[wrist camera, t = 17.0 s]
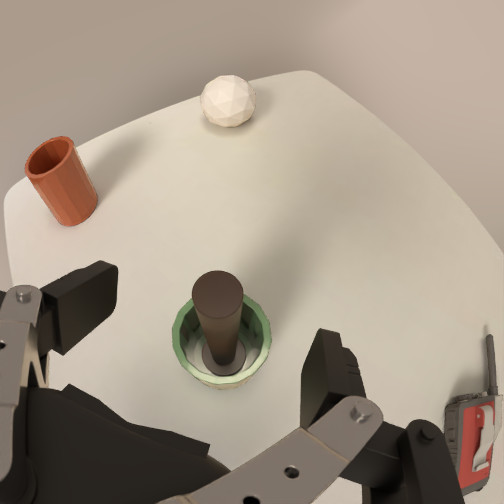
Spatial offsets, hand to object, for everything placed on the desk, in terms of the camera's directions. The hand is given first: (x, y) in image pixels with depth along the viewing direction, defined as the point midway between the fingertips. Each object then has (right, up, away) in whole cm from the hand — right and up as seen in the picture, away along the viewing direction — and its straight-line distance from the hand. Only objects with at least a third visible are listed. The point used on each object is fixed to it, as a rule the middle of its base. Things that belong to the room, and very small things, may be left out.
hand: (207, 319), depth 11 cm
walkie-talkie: (+26, -17, +12) cm, 34 cm away
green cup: (-1, -7, +15) cm, 17 cm away
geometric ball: (-2, +22, +31) cm, 38 cm away
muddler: (-1, -7, +15) cm, 16 cm away
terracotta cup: (-20, +8, +22) cm, 31 cm away
